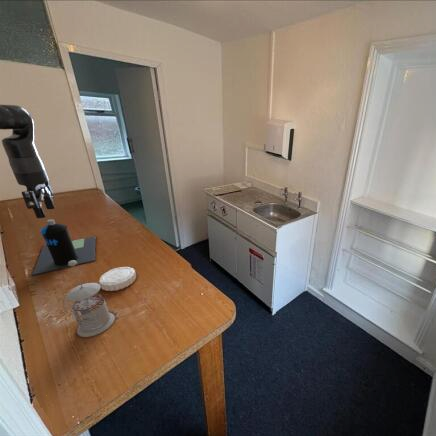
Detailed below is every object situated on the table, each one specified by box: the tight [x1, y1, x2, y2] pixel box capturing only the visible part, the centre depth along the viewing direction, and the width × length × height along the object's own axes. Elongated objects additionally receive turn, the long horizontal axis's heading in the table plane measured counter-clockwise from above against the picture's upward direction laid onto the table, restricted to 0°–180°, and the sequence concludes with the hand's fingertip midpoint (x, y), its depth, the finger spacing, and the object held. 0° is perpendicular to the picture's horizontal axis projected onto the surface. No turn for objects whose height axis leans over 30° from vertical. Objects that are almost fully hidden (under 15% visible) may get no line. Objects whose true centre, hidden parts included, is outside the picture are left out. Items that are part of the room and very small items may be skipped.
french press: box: [61, 260, 116, 338], centre depth 71 cm, size 10×12×25 cm
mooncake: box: [98, 266, 137, 292], centre depth 94 cm, size 12×12×4 cm
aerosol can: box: [40, 218, 78, 265], centre depth 100 cm, size 8×8×20 cm
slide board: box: [32, 236, 96, 276], centre depth 110 cm, size 20×26×1 cm
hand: (46, 213), depth 85 cm, fingers open, 8 cm apart
